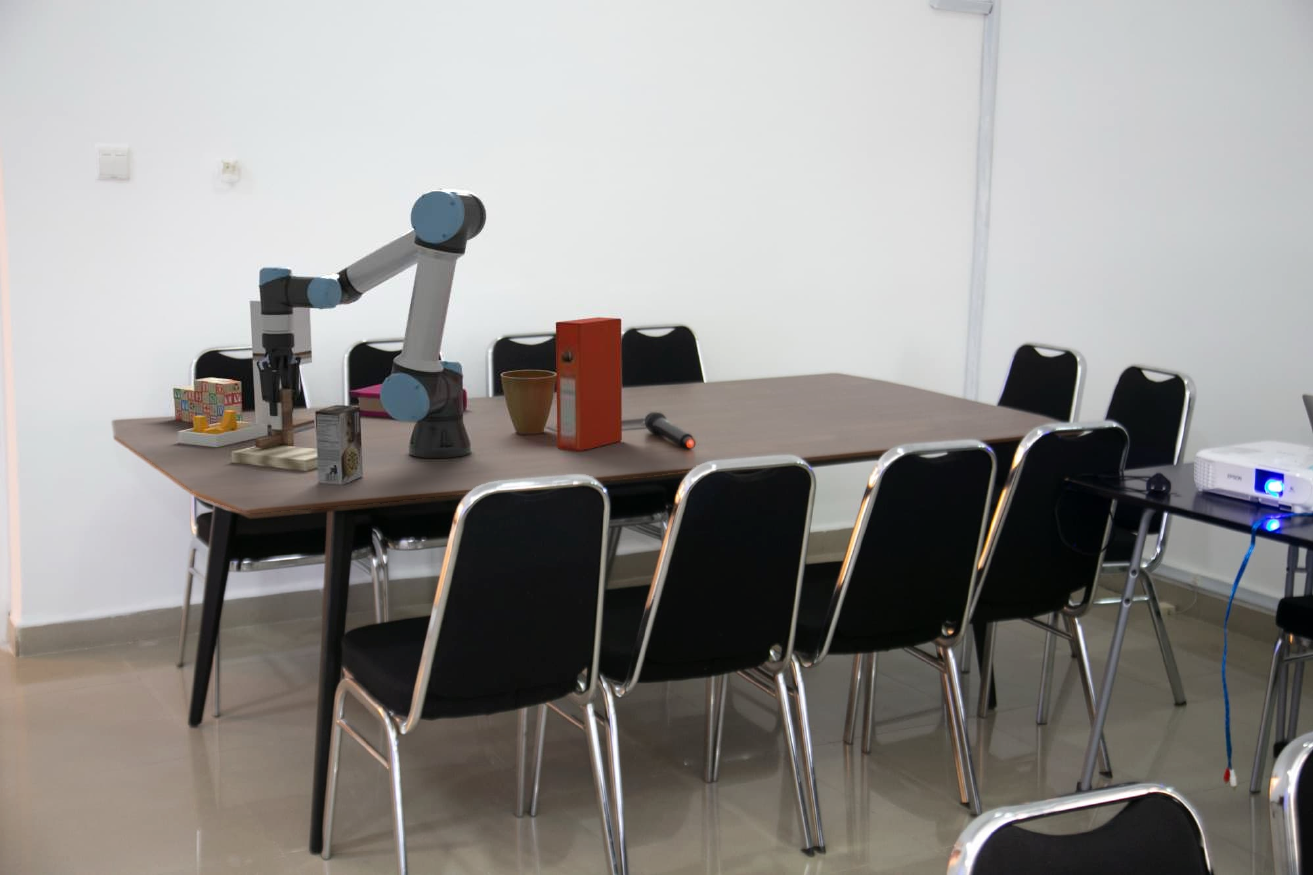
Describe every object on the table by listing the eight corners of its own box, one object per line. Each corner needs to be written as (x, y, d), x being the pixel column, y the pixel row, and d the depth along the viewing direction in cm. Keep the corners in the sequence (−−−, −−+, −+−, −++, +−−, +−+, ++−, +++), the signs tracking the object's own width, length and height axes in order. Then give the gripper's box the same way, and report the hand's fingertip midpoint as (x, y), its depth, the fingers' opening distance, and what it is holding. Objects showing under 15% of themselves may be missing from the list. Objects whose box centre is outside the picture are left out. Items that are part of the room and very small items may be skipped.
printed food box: (338, 474, 289) (335, 404, 286) (363, 476, 287) (361, 406, 284) (316, 483, 281) (313, 410, 278) (342, 485, 279) (340, 412, 276)
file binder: (556, 448, 323) (555, 321, 317) (596, 438, 337) (596, 316, 331) (581, 451, 319) (581, 323, 313) (621, 441, 333) (622, 318, 327)
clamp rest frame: (267, 435, 337) (267, 424, 336) (216, 447, 320) (216, 435, 320) (230, 431, 342) (230, 420, 341) (178, 442, 325) (178, 431, 325)
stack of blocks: (174, 420, 360) (171, 376, 357) (193, 417, 365) (190, 374, 362) (225, 427, 348) (222, 383, 346) (243, 424, 353) (241, 380, 351)
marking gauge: (295, 451, 312) (292, 389, 310) (267, 459, 303) (264, 394, 301) (279, 450, 314) (276, 387, 312) (251, 457, 306) (247, 393, 303)
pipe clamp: (206, 442, 327) (204, 417, 326) (194, 441, 329) (192, 416, 328) (242, 435, 337) (241, 411, 336) (230, 434, 339) (229, 410, 338)
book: (386, 405, 391) (385, 380, 390) (467, 411, 382) (467, 385, 380) (347, 415, 372) (346, 389, 370) (432, 422, 362) (431, 395, 361)
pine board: (339, 461, 304) (338, 451, 303) (306, 470, 293) (305, 460, 292) (266, 453, 313) (266, 443, 312) (231, 462, 302) (231, 451, 301)
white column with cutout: (290, 433, 339) (284, 301, 333) (256, 431, 343) (249, 300, 336) (314, 426, 350) (309, 298, 344) (281, 424, 353) (275, 297, 347)
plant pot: (496, 428, 349) (495, 370, 346) (549, 426, 354) (549, 369, 351) (507, 438, 335) (506, 378, 333) (562, 435, 340) (562, 376, 337)
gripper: (288, 328, 315) (292, 421, 320) (242, 333, 301) (247, 431, 305) (312, 329, 312) (316, 424, 317) (267, 335, 298) (271, 434, 302)
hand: (282, 427), depth 311 cm, fingers closed on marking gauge, 3 cm apart
